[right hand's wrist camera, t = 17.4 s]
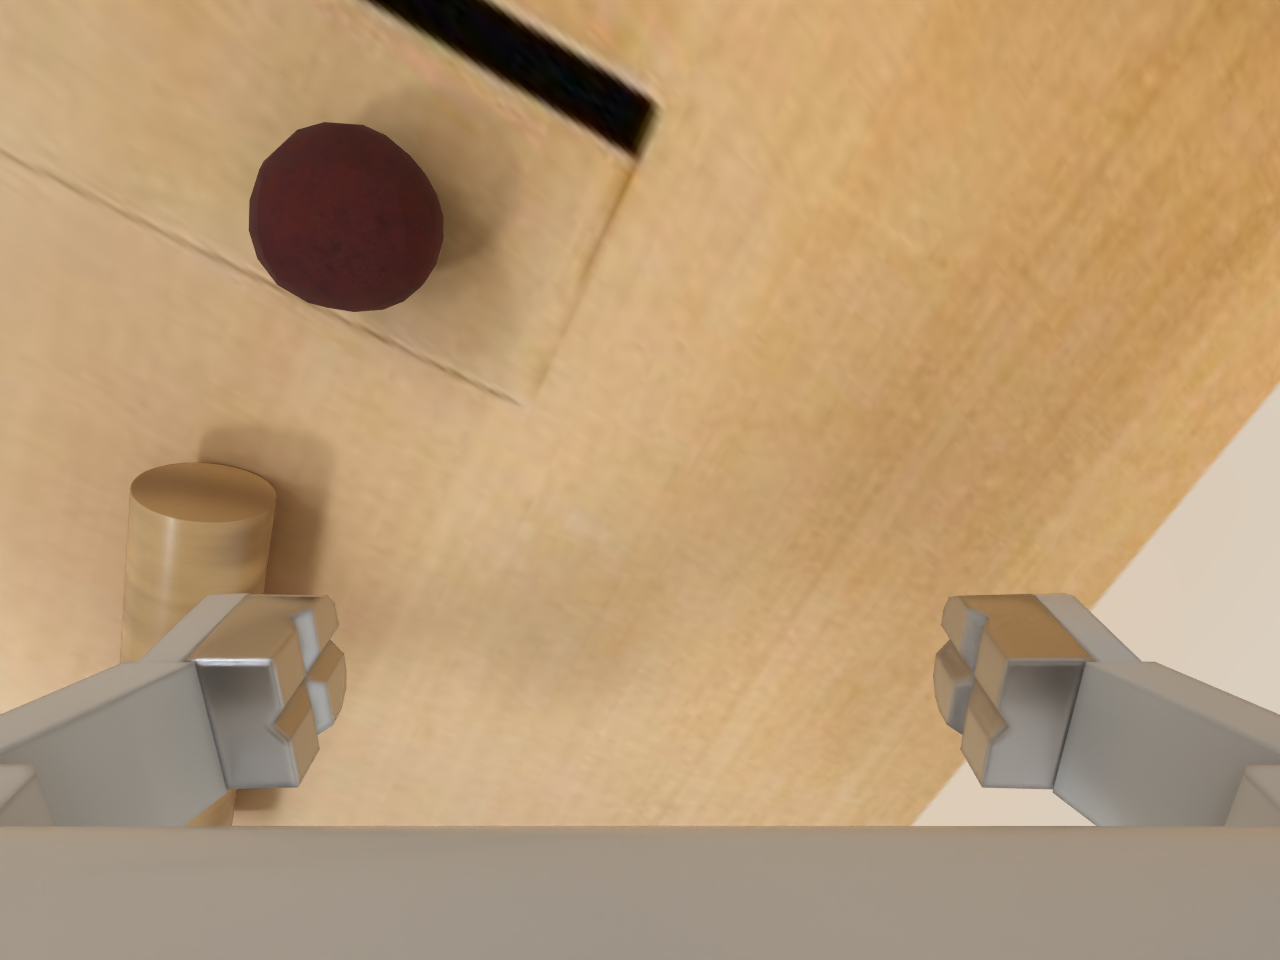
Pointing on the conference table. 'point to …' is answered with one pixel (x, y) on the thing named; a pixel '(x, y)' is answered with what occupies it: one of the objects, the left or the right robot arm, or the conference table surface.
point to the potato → (345, 218)
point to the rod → (192, 557)
